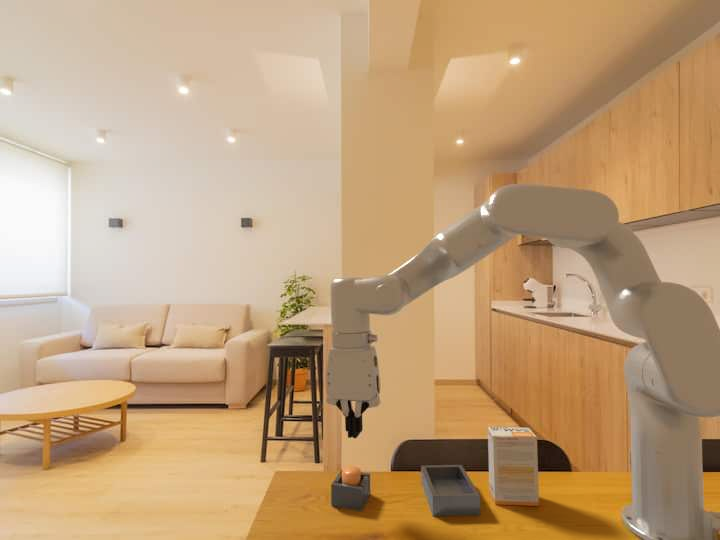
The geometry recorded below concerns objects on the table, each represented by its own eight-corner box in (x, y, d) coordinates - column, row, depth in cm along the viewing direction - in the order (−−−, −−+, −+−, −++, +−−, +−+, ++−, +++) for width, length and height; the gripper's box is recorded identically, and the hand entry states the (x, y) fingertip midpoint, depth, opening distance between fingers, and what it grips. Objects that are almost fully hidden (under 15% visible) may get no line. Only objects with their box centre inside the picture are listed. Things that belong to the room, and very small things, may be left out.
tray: (461, 481, 81) (461, 464, 81) (480, 515, 70) (479, 495, 70) (421, 482, 81) (421, 465, 81) (432, 516, 69) (432, 496, 70)
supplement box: (530, 493, 77) (529, 426, 77) (539, 507, 72) (538, 436, 72) (488, 491, 78) (487, 425, 78) (494, 505, 73) (492, 435, 73)
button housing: (370, 493, 77) (370, 473, 77) (361, 511, 71) (361, 489, 71) (341, 489, 79) (341, 469, 79) (331, 505, 73) (331, 484, 73)
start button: (362, 488, 76) (362, 467, 76) (357, 498, 73) (357, 476, 73) (345, 485, 77) (345, 465, 77) (339, 495, 74) (339, 474, 74)
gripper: (392, 338, 77) (395, 431, 76) (323, 337, 81) (325, 425, 81) (384, 344, 70) (387, 446, 69) (308, 343, 74) (311, 439, 74)
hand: (354, 435), depth 75 cm, fingers closed
